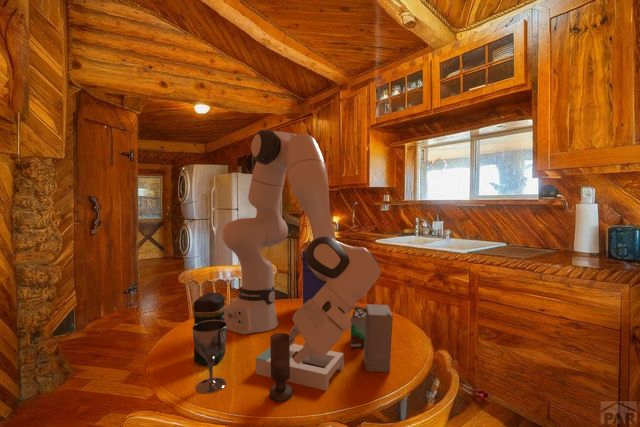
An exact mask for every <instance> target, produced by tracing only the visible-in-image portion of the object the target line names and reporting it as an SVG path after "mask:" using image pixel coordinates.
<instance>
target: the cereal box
mask: <svg viewBox="0 0 640 427" xmlns="http://www.w3.org/2000/svg"><path fill="white" fill-rule="evenodd" d="M301 252H302V305H303V304H304V303H306V302H307V301H308V300H309V299H312V298H313V297H314V296H315V295H316V294H317V293H318V292H319V290H320V289H321V288H322V287H323V286H324V285H325V284H323V283H321V282H320V281H319V280H318V279H317V277H316V276H315V274H314V273H313V272H312V270H311V269H310V268H309V266H308V264H307V261H306V257H305V254H306V249H305V250H303V251H301Z"/></svg>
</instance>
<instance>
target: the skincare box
mask: <svg viewBox="0 0 640 427" xmlns="http://www.w3.org/2000/svg"><path fill="white" fill-rule="evenodd" d="M365 308H366V319H365V337H364V348H363V354H362V355H363V356H362V357H363V363H364V368H365V371H366V372H367V373H368V372H369V373H371V372H372V373H373V372H374V373H390V372H391V358H392V356H391V355H392V341H393V340H392V338H393V337H392V336H393V322H394V321H393V320H394V316H393V314H392V310H391V308H390V306H389V305H387V304H372V303H368V304H367V303H366V305H365Z"/></svg>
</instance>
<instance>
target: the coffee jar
mask: <svg viewBox="0 0 640 427" xmlns="http://www.w3.org/2000/svg"><path fill="white" fill-rule="evenodd" d="M225 301H226V300H225V296H224V295H223V294H222V293H221V292H206V293H205V294H203V295H201V296H200V297H198V298H196V299H195V301H194V302H193V308H192V309H193V326H194V325H195V324H197V323H199V322H202V321H207V320H222V321H224V312H225V307H226V305H225V304H226V303H225ZM225 355H226V344H225V345H224V348H223V349H222V351H221V352H220V353H219V354H218V356H217V357H216V359H215V361H214V364H218V363H220V362H221V360H222V359H223V358H224V357H225ZM193 361H194V363H195V364H196V365H200V366H208V363H207V361H206V360H205V359H204V358H203V357H202V356H201V355H200V354H199V353H198V352H197V351H196V349H195V345H194V344H193ZM214 364H213V365H214Z"/></svg>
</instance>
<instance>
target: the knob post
mask: <svg viewBox="0 0 640 427" xmlns="http://www.w3.org/2000/svg"><path fill="white" fill-rule="evenodd" d="M269 339H270V341H269V342H270V345H269V346H270V347H269V348H270V351H271V377H270V379H271V380H270V381H272V382H275V384H274V385H272V386H270V388H269V390H268V391H269V392H268V393H269V399H270V400H271V401H272V402H275V403H284V402H287V401H289V400H290V399H292V397H293V388H292V386H291V385H290V384H287V382H288V381H287V380H288V379H289V378H290V339H289V333H286V332H276V333H273V334H272V335H270V336H269Z"/></svg>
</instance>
